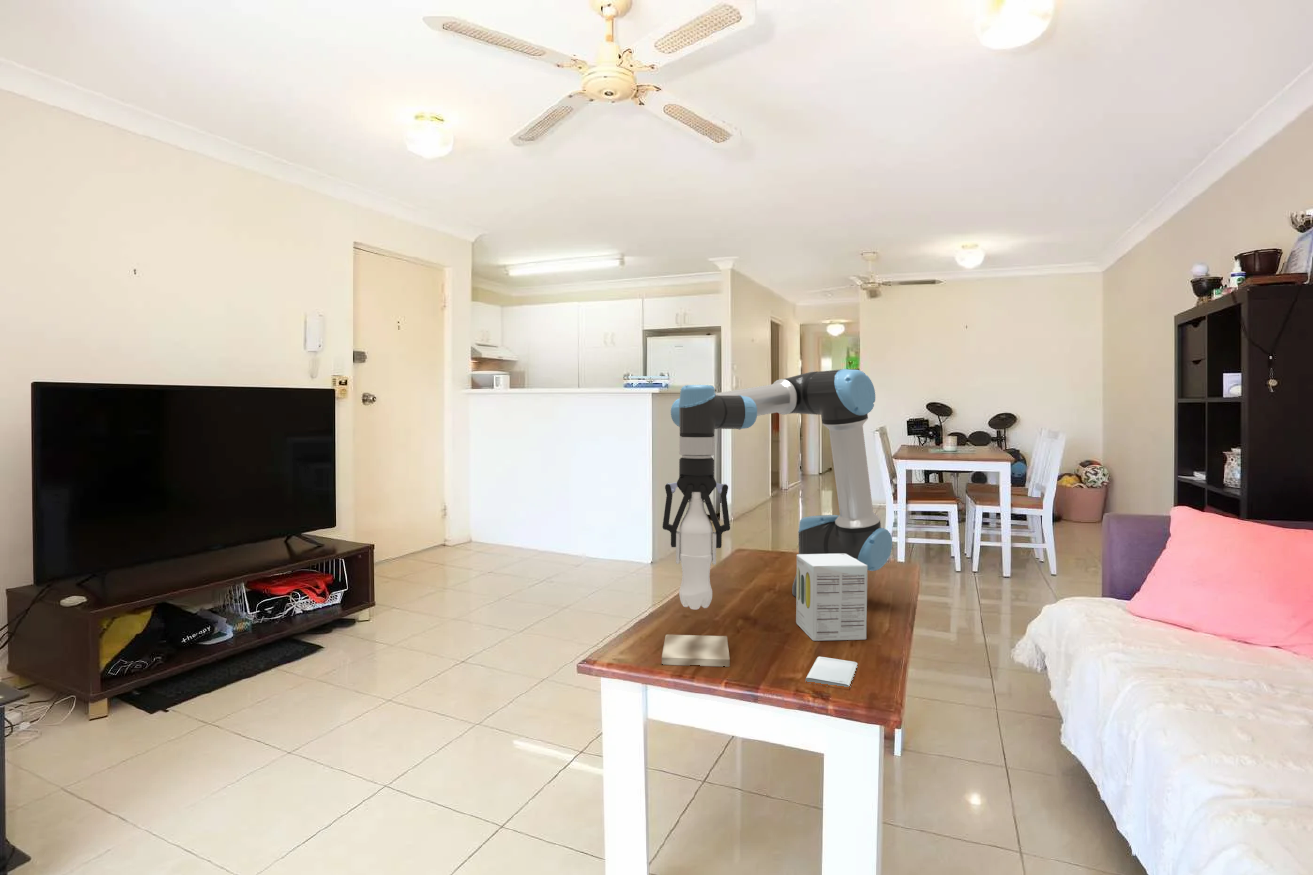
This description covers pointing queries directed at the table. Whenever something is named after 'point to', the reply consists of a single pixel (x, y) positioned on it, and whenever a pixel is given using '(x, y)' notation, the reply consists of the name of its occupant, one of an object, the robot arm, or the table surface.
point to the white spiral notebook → (832, 671)
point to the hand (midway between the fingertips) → (696, 562)
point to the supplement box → (831, 596)
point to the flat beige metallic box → (696, 650)
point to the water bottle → (696, 555)
